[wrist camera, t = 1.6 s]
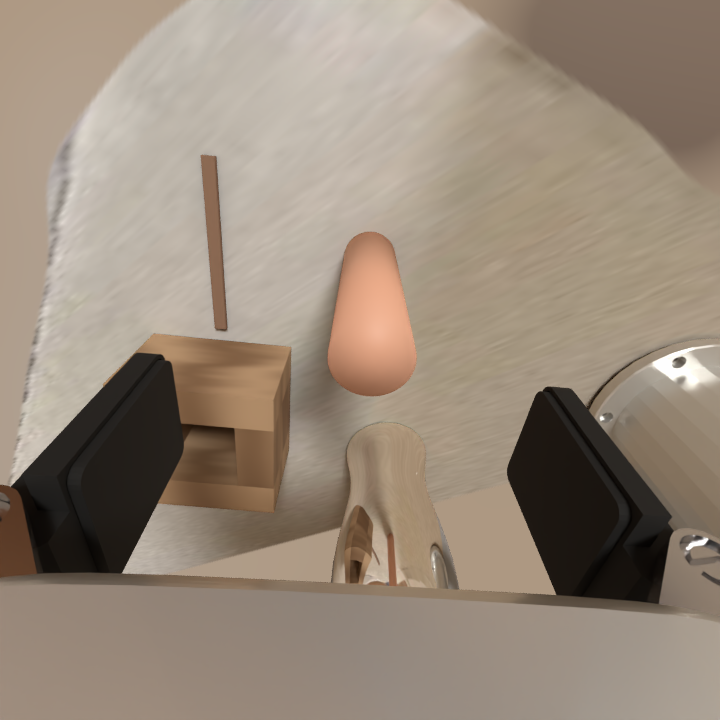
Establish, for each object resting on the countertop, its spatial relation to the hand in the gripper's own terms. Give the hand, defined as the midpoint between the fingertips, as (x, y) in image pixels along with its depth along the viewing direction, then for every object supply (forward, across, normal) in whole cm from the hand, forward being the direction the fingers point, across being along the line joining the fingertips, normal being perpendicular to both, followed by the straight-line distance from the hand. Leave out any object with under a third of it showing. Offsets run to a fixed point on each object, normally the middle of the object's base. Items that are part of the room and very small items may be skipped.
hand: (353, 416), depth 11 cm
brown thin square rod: (+16, +8, +1) cm, 18 cm away
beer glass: (+15, -4, +15) cm, 22 cm away
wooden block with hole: (+16, +8, +11) cm, 21 cm away
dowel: (+15, -1, 0) cm, 15 cm away
